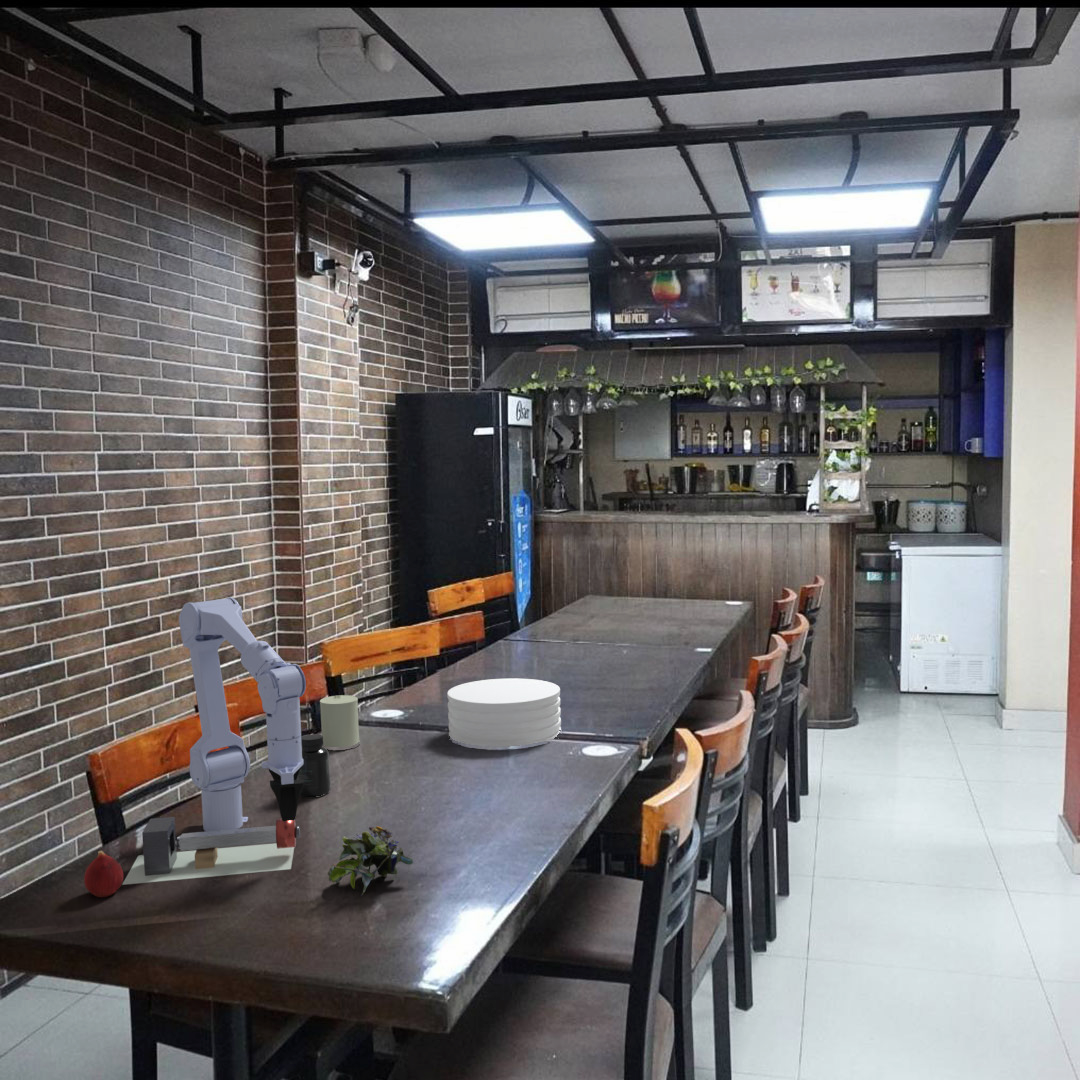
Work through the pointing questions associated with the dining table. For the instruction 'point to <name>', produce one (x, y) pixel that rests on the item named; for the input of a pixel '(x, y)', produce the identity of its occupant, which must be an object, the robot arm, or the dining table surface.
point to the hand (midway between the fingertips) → (287, 812)
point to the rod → (242, 837)
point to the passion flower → (368, 857)
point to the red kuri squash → (103, 876)
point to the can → (339, 720)
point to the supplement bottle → (314, 766)
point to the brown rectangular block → (205, 858)
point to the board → (219, 864)
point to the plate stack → (504, 712)
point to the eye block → (159, 846)
